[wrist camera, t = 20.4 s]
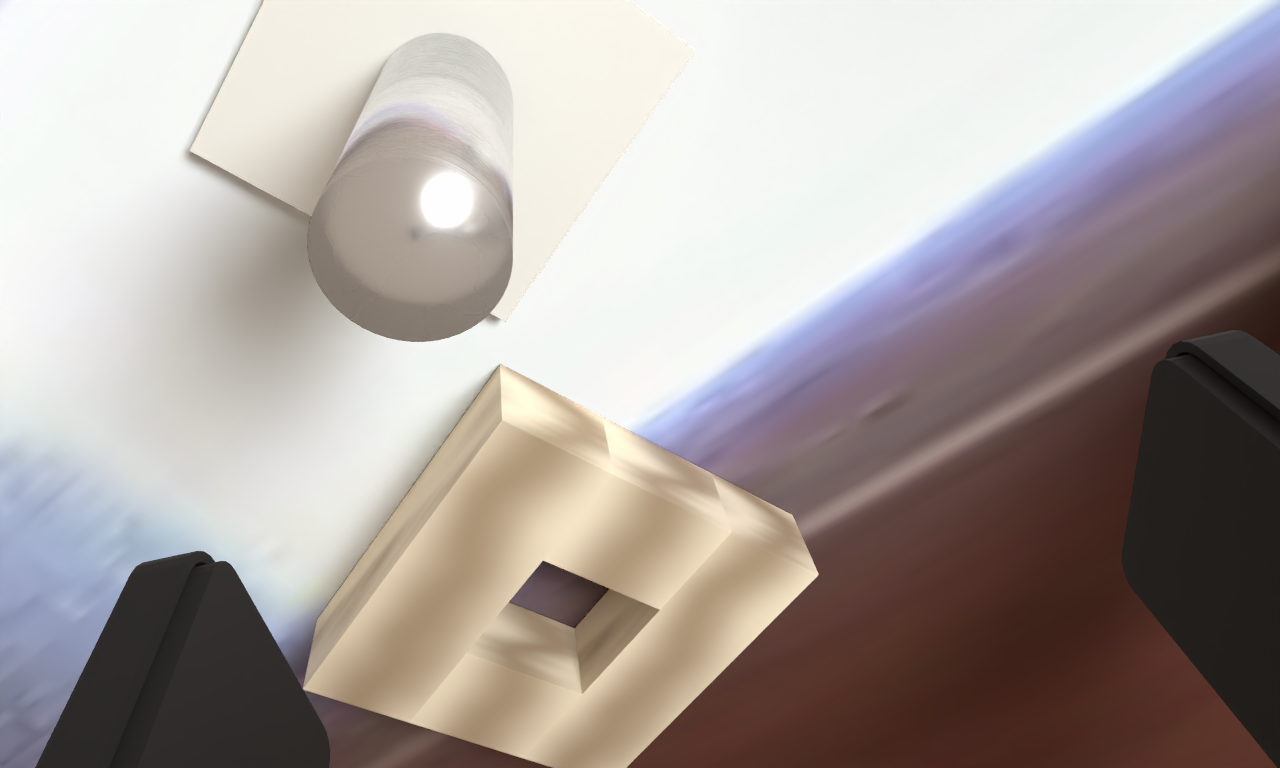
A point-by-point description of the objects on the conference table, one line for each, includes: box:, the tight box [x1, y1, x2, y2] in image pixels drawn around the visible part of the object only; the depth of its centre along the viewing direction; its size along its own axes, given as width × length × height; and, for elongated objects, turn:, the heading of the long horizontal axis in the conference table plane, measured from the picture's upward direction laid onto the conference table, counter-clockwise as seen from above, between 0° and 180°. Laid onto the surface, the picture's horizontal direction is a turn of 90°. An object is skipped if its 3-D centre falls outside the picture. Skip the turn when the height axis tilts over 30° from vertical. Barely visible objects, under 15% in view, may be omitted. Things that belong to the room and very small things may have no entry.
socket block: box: [303, 364, 819, 768], centre depth 41 cm, size 16×16×4 cm
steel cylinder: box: [307, 33, 513, 342], centre depth 25 cm, size 4×4×12 cm
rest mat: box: [190, 0, 696, 322], centre depth 30 cm, size 12×12×1 cm
